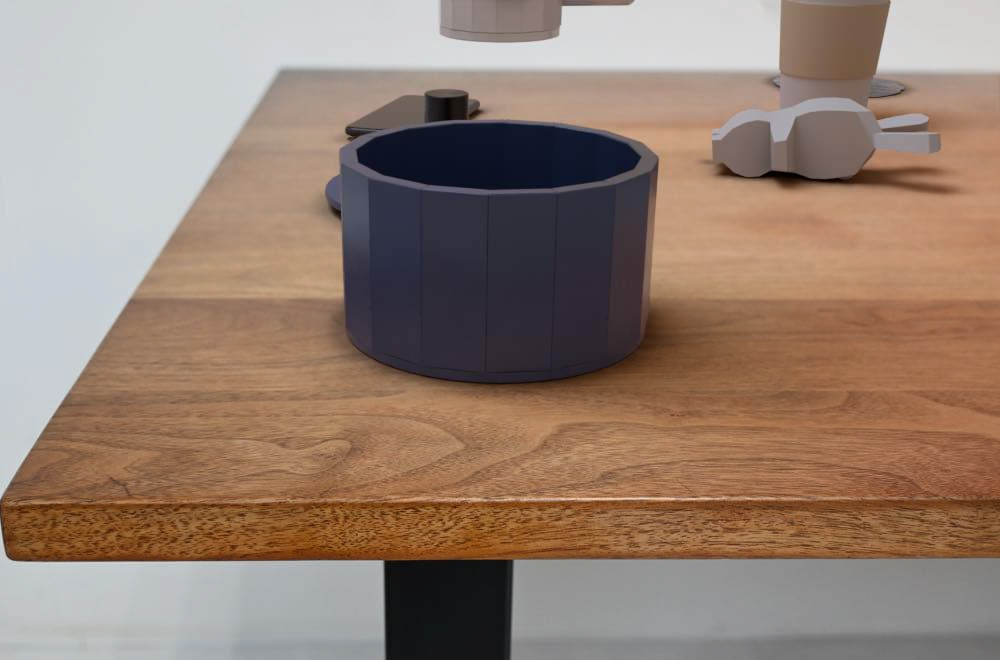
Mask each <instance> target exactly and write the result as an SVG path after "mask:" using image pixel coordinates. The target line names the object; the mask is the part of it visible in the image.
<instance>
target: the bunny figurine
mask: <svg viewBox="0 0 1000 660" xmlns="http://www.w3.org/2000/svg"><path fill="white" fill-rule="evenodd" d="M929 121H930V117H929V116H927V115H926V114H923V113H915V112H914V113H908V114H907V113H906V114H902V115H896V116H891V117H886V118H881V119H877V118H876V116H875V114H874V112H873V111H872V110H870V109H869V108H868V107H867V108H865V107H863V106H862V105H860V104H858V103H857V102H855V101H853V100H851V99H848V98H836V97H834V98H817V99H810V100H806V101H804V102H802V103H800V104H797V105H795V106H793V107H789V108H785V109H780V110H779V109H776V110H773V111H770V112H768V111H765V110H762V109H759V108H751V109H745V110H742V111H741V112H738V113H736V114H735V115H732V117H730V118H729V120H727V122H726V123H724V124H723V125H722V126H721V127H719V128H718V127H717V128H712V130H711V131H712V132H711V153H712V162H713V163H715V162H721V163H723V164H724V165H725V166H726V167H727V168H728V169H730V170H731V172H733V173H734V174H737V175H739V176H743V177H745V178H755V177H761V176H762V175H765V174H767V173H768V172H772V171H773V172H781V173H791V174H797V175H799V176H803V177H805V178H809V179H815V180H816V179H817V180H829V179H836V178H839V179H840V180H841V181H843V180H844V181H847V180H850V179H852V178H853V177H854V176H855V175H856V174H857V173H858V172H859V171H861V169H862V168H863V167H864V166H865V165H866V164H867V163H868V162H869V161H870V160H871V159H872V158H873V156H874V154H875V152H876V150H884V151H893V152H902V153H909V154H916V155H917V154H920V155H922V154H923V155H930V154H936V153H939V152H940V151H941V150H942V142H941V133H940V132H934V131H933V132H930V131H929V132H928V130H929V123H930V122H929Z"/></svg>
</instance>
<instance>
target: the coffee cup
mask: <svg viewBox="0 0 1000 660" xmlns="http://www.w3.org/2000/svg"><path fill="white" fill-rule="evenodd" d="M891 2H892V1H891V0H780V21H779V24H780V25H779V52H778V53H779V57H778V58H779V59H778V70H779V71H780V76H779V77H780V86H779V109H778V110H780V109H785V108H789V107H793V106H795V105H797V104H800V103H802V102H804V101H806V100H810V99H817V98H834V97H836V98H848V99H851V100H853V101H855V102H857V103H858V104H860V105H862V106H863V107H865V108H867V109H868V104H869V98H870V97H869V94H870V89H871V84H872V79H874V78H873V77H874V76H876V74H877V71H878V65H879V61H880V56H881V50H882V46H883V41H884V37H885V31H886V26H887V24H888V23H887V22H888V19H889V18H888V17H889V13H890V9H891Z"/></svg>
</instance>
